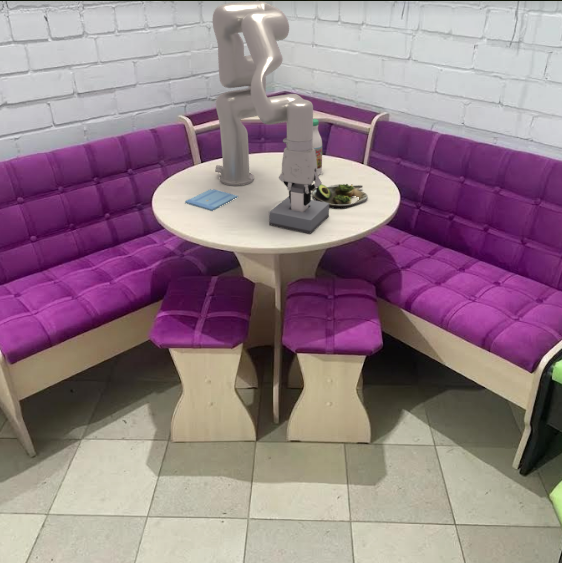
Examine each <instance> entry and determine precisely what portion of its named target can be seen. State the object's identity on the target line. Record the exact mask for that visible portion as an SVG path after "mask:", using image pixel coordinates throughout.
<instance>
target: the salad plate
mask: <svg viewBox="0 0 562 563" xmlns="http://www.w3.org/2000/svg"><path fill="white" fill-rule="evenodd" d="M360 189H363V185H361V184H360V185H354V184H351V185H349V184H348V183H346V184H345V183H342V184H334V185H329V186H326V185H325V184H321V185H320V186H318V187H316V188H314V189H313V190H312V191H311V197H312V198H313V200H315V201H320V202H326V203H329V209H330V208H331V209H337V208H340V209H347V208H350V207H351V208H352V207H353V206H355V205H359V204H360V203H363V202H364V201H366V200H367V199H368V194H367V193H366V192H364V191H361V190H360ZM352 196H356V197H355V198H357V197H359V200H358V199H357V201H355V202H353V201H352V198H353V197H352ZM351 197H352V198H351ZM352 202H353V203H352Z"/></svg>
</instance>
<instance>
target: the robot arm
mask: <svg viewBox="0 0 562 563" xmlns="http://www.w3.org/2000/svg"><path fill="white" fill-rule="evenodd" d="M288 20H289V19H288V18H287V16H286V14H285V13H284V11H282V10H281V9H279V8H277V6H276V7H275V6H274V5H272V4H269V3H267V2H265V1H259V0H256V1H246V2H245V1H243V2H242V1H241V2H231V3H224V4H221V5H218V6H217V7H215V9H214V11H213V14H212V28H213V31H214V36H215V38H216V41H217V42H216V43H217V56H218V58H217V59H218V60H217V61H218V63H217V64H218V76H219V81H220V84H221V86H223V87H224V88H227V89H233V88H234V89H235V88H242V87H248V88H245V89H237V90H229V91H225V92H223V93H221V94H219V95H218V96H217V97H216V99H215V108H216V109H215V110H216V113H217V118H218V122H219V129H220V141H221V142H220V143H221V155H222V156H221V158H222V165H220V164H217V165H216V166H215V170H214V171H215V173H220V176H219V182H220V183H221V184H223V185H226V186H231V187H232V186H234V187H236V186H237V187H239V186H244V185H245V186H246V185H248V184H251V183H252V182H254V179H255V176H254V174H253V173H252V172H250V154H249V152H250V151H249V137H248V136H249V135H248V134H249V133H248V130H247V128H246V126H245V125H244V124H243V122H242V121H241V120H243V119H244V120H245V119H249V118H253V117H258V119H259V120H260V122H261V123H263V124H265V125H276V124H281V123H285V122H286V137H285V138H283V140H282V142H283V144H286V147H285V148H284V149H283V154H282V159H281V160H282V162H281V173H280V174H279V176H278V180H279V181H281V182H282V183H283V184H284V185H285V187H286V188H287V191H288V196H289V199H290V203H291V186H292V185H294V184H295V183H296V184H302V185H304V187H305V193H304V205H305V206H306V205H307V204H308V203H310V201H311V200H312V192H313V191H312V190H313V189H314V188H317V187H318V186H320V185H321V184H322V180H321V179H320V177H319V175H317V160H316V154H315V149H313V119H314V105H313V103H312V101H310V100H307V99H304V98H302V97H301V96H300V95H298V94H296V93H290V94H281V95H275V96H269V97H268V96H267V93H266V92H267V91H266V90H267V76H268V75H270V74H272V73H273V72H275V71H276V70H277V69H279V67H280V66H281V65H282V64H283V60H284V58H283V55H282V52H281V50H280V47H279V45H278V41H283V40H285V39H286V38H287V37H288V35H289V33H290V24H289V21H288ZM240 33H241V34H242V35H243V37H244V40H245V41H243V38H242V37H241V35H240ZM244 42H245V43H246V45H247V48H248V51H249V53H250V55H245V43H244ZM322 185H323V184H322Z"/></svg>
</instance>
